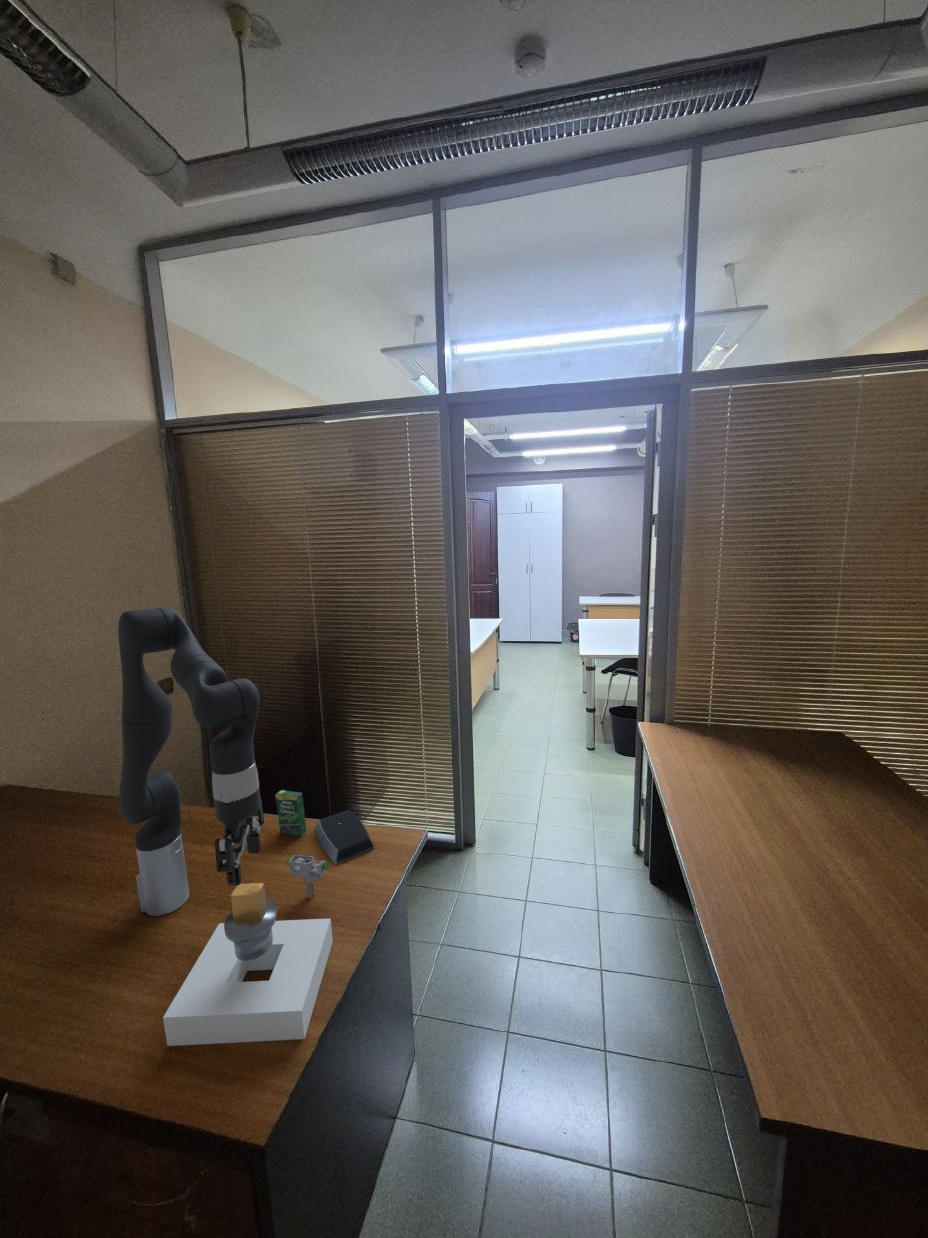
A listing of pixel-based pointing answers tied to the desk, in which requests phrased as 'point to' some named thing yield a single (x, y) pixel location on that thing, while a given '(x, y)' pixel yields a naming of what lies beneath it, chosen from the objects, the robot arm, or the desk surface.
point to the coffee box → (291, 813)
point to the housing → (252, 988)
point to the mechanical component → (307, 870)
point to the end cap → (250, 921)
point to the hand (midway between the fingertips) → (245, 867)
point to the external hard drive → (343, 836)
